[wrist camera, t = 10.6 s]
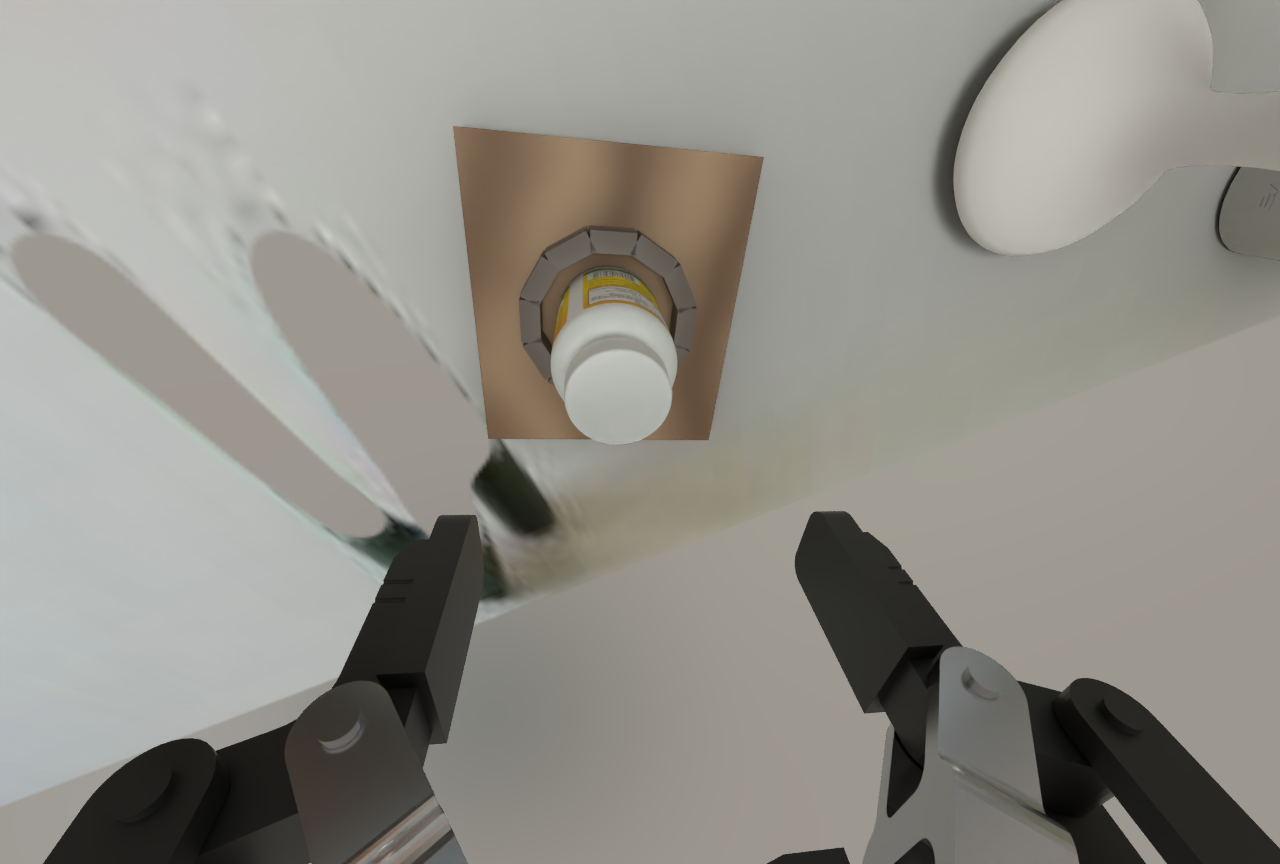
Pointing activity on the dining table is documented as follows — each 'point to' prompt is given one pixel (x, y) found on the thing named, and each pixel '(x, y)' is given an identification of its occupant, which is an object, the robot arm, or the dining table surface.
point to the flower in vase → (1099, 122)
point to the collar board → (598, 260)
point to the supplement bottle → (613, 357)
